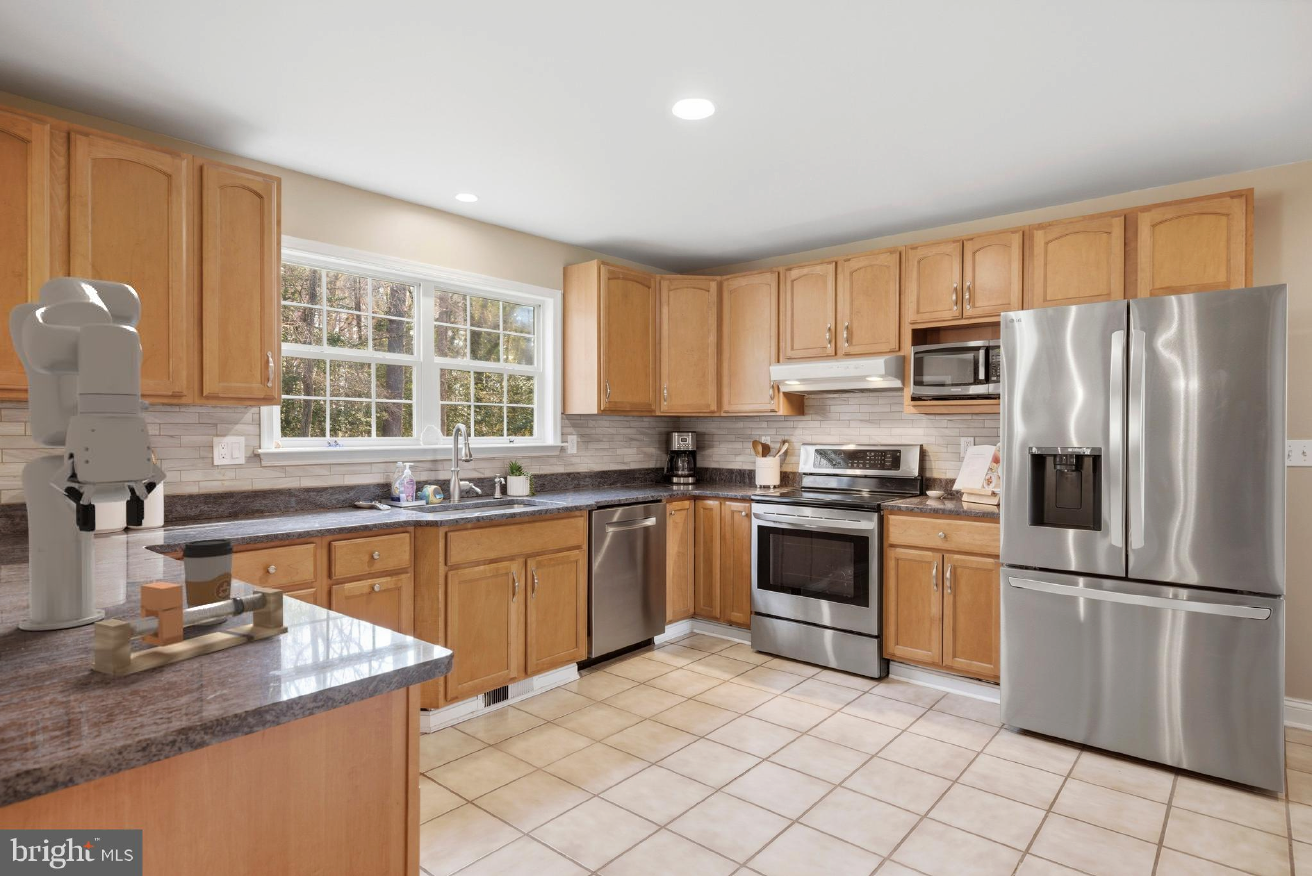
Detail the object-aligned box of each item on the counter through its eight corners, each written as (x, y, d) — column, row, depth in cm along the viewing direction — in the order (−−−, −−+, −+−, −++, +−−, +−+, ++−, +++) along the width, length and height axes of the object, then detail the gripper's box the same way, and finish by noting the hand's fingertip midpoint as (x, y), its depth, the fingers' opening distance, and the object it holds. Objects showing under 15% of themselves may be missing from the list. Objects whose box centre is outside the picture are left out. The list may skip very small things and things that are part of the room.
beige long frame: (118, 676, 107) (117, 627, 107) (89, 668, 110) (89, 621, 110) (288, 631, 131) (288, 591, 131) (260, 625, 135) (260, 586, 135)
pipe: (118, 646, 109) (118, 624, 109) (106, 643, 110) (106, 622, 110) (273, 609, 131) (273, 591, 131) (262, 607, 133) (262, 590, 133)
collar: (163, 646, 113) (162, 588, 113) (141, 641, 116) (140, 585, 116) (183, 641, 116) (182, 585, 116) (161, 637, 119) (160, 581, 119)
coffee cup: (210, 628, 133) (209, 546, 133) (171, 626, 135) (170, 544, 135) (244, 616, 142) (244, 539, 142) (207, 614, 143) (207, 538, 143)
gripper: (156, 409, 119) (158, 521, 119) (27, 406, 104) (28, 534, 104) (184, 408, 115) (185, 523, 115) (54, 405, 100) (55, 537, 100)
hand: (111, 527), depth 110 cm, fingers open, 5 cm apart
